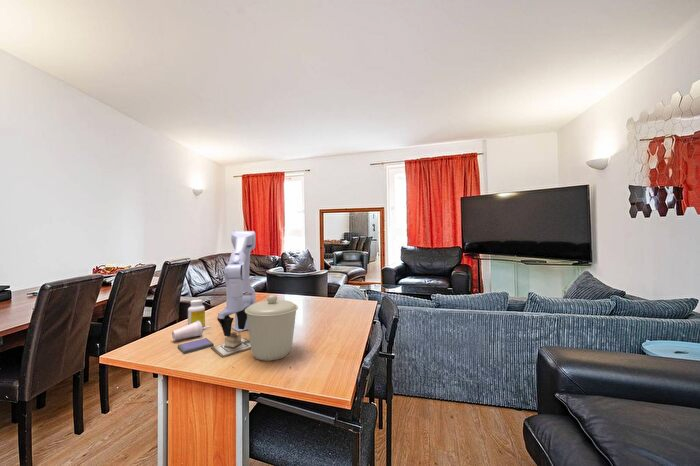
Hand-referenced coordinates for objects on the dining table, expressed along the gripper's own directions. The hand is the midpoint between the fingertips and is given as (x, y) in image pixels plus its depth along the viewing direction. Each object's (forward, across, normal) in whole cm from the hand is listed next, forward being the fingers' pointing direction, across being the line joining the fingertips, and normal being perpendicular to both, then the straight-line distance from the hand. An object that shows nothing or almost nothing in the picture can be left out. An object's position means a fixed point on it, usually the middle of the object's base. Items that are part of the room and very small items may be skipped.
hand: (234, 332), depth 102 cm
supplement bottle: (+6, -11, -29) cm, 32 cm away
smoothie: (+3, +3, -26) cm, 27 cm away
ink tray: (+6, +4, -14) cm, 16 cm away
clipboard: (+6, 0, 0) cm, 6 cm away
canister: (+6, +1, +17) cm, 18 cm away
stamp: (+5, 0, 0) cm, 5 cm away
